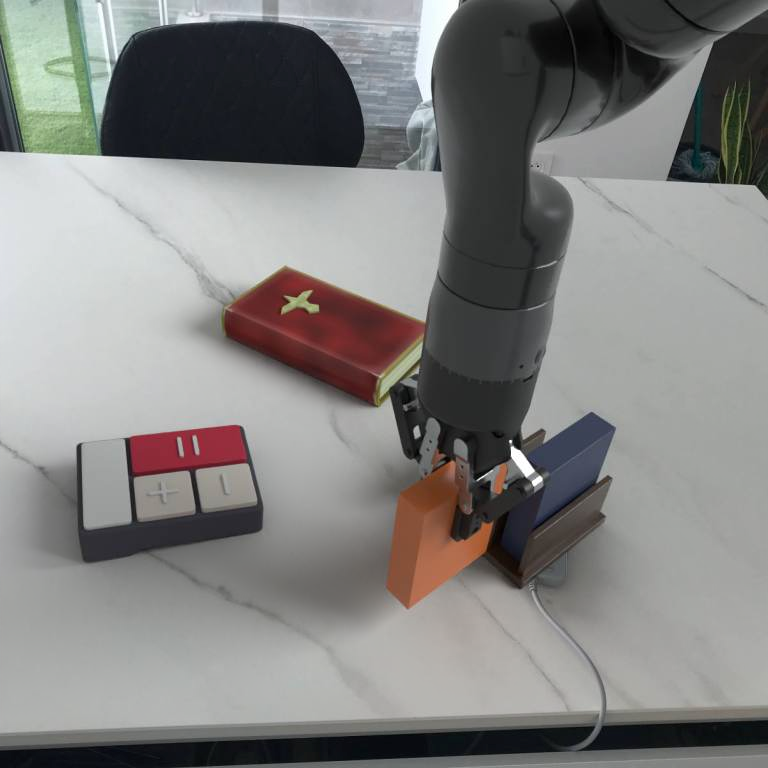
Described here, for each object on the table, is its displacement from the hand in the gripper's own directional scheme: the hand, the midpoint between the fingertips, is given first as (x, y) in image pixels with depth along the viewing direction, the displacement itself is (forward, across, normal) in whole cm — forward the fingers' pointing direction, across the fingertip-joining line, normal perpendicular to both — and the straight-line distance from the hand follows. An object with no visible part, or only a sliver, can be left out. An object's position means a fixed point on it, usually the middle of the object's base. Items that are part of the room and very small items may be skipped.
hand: (447, 520), depth 59 cm
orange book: (+6, 0, 0) cm, 6 cm away
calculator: (+9, -22, -12) cm, 27 cm away
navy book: (+8, +2, +12) cm, 15 cm away
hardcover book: (+9, -32, +14) cm, 36 cm away
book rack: (+9, -2, +12) cm, 15 cm away
